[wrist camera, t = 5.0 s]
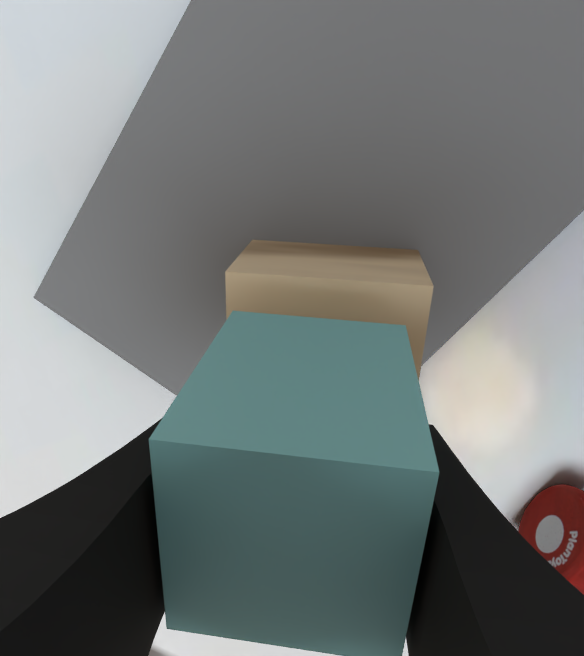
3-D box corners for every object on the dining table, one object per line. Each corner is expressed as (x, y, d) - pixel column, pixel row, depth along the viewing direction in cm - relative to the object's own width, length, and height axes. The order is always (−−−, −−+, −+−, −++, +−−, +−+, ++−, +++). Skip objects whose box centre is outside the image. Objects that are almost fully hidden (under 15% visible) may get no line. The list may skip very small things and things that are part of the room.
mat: (340, -269, 13) (340, -281, 12) (701, 89, 15) (710, 88, 14) (39, 294, 20) (33, 297, 20) (302, 474, 22) (301, 480, 22)
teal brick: (232, 310, 11) (148, 439, 7) (405, 325, 11) (440, 472, 6) (234, 449, 13) (166, 628, 8) (384, 466, 13) (400, 664, 8)
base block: (252, 239, 18) (224, 271, 14) (418, 249, 17) (433, 286, 14) (252, 380, 20) (229, 438, 17) (397, 394, 20) (406, 457, 16)
